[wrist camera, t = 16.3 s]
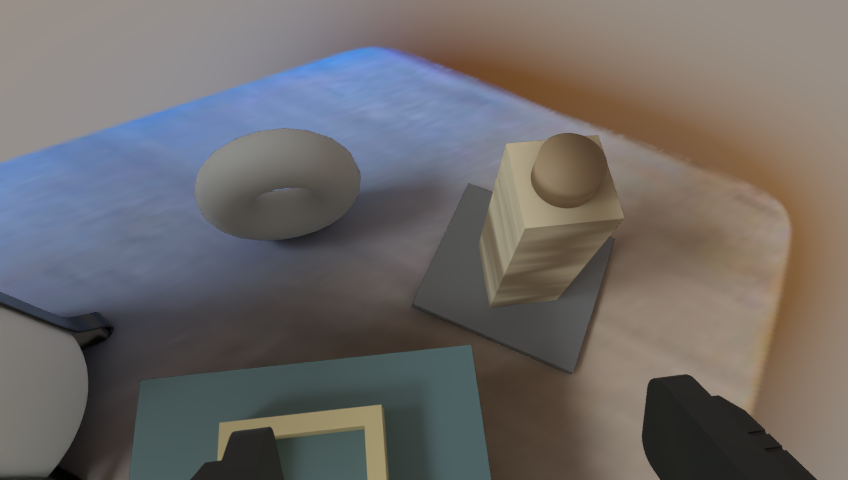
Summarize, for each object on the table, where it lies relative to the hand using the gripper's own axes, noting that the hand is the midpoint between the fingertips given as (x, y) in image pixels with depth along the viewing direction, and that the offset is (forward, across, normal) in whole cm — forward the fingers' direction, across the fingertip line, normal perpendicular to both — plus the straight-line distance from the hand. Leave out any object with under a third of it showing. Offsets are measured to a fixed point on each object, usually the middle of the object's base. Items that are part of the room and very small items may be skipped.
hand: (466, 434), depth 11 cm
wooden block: (+22, -7, +7) cm, 24 cm away
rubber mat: (+22, -7, +8) cm, 25 cm away
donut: (+27, +7, +4) cm, 28 cm away
